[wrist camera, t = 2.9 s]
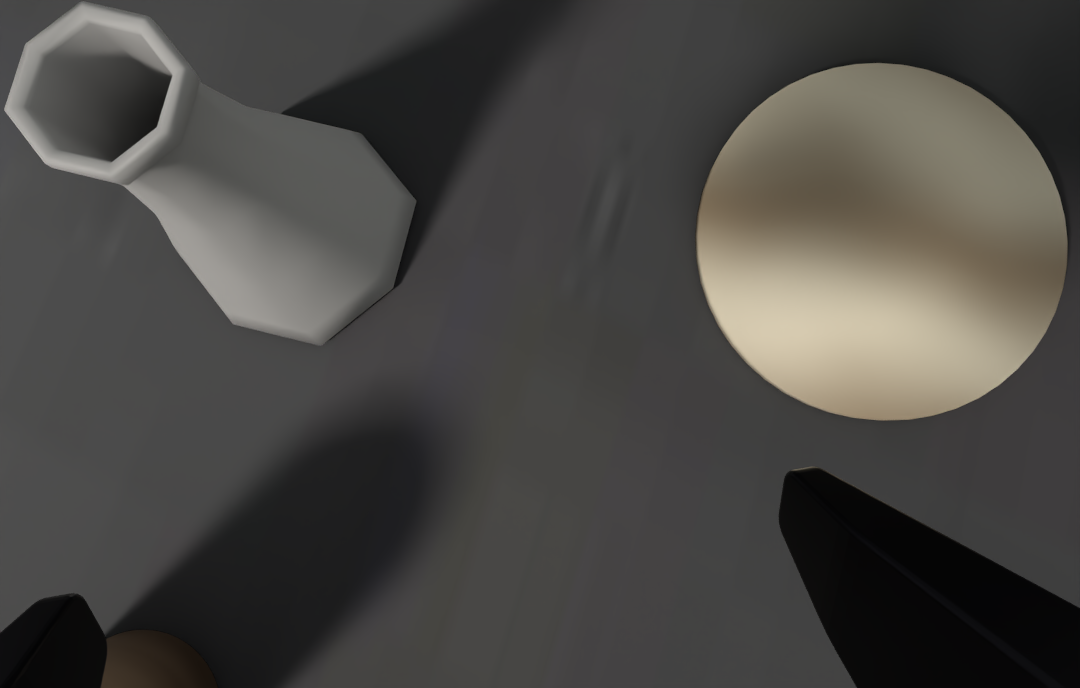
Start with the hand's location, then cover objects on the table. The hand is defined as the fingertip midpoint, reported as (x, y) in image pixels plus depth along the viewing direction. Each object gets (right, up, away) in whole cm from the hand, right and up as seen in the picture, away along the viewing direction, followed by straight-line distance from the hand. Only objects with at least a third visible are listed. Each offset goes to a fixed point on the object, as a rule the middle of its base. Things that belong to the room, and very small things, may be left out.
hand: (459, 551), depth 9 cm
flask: (-7, +6, +13) cm, 16 cm away
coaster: (+11, +6, +13) cm, 18 cm away
